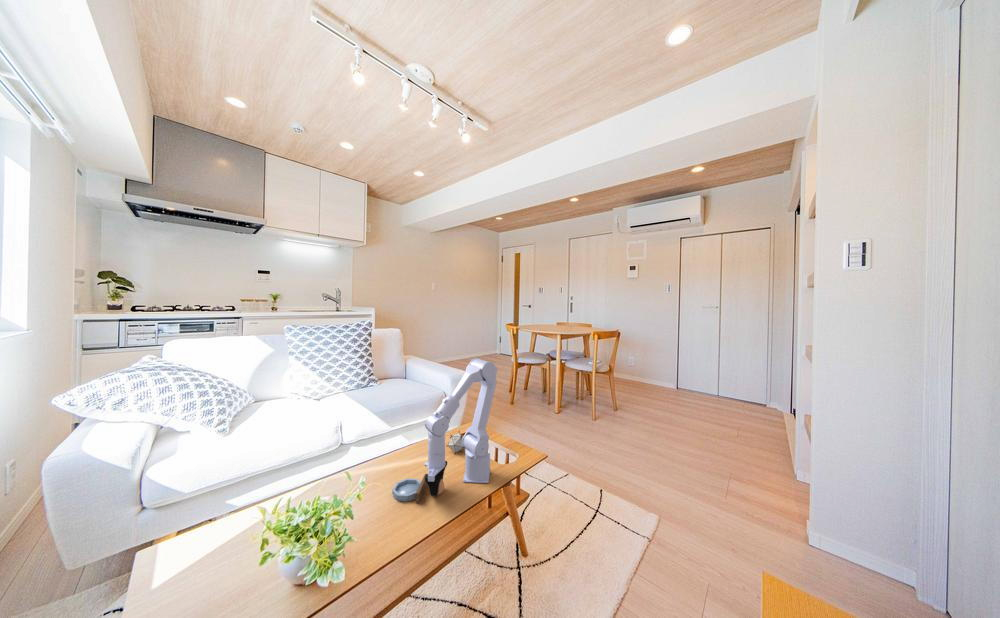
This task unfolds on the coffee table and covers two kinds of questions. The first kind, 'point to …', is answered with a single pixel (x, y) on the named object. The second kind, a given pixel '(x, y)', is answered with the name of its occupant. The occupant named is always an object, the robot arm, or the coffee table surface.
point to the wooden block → (420, 490)
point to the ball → (441, 487)
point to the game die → (456, 442)
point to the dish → (405, 489)
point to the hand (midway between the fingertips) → (436, 489)
